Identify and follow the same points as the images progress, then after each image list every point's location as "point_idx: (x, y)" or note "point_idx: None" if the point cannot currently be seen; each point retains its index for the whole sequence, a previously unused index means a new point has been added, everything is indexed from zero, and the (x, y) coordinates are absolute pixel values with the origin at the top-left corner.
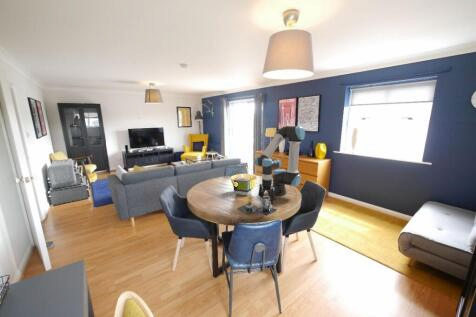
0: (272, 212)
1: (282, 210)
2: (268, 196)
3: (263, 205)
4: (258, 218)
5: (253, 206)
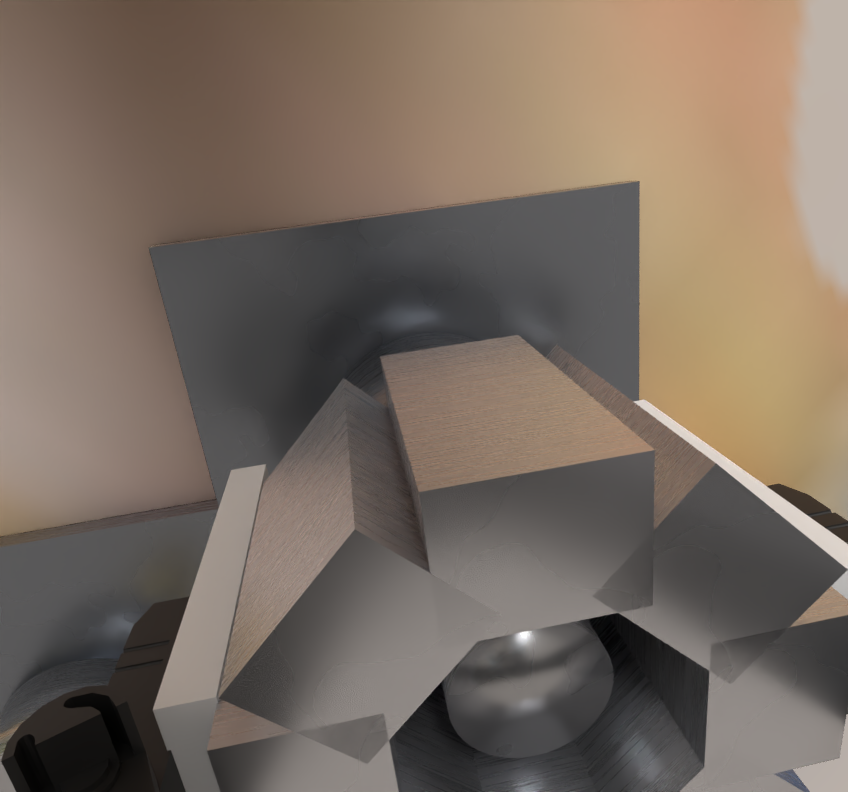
0: (634, 397)
1: (741, 36)
2: (481, 552)
3: None
4: None
5: (52, 610)
